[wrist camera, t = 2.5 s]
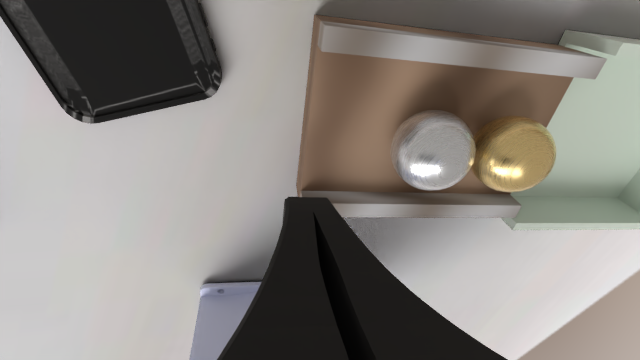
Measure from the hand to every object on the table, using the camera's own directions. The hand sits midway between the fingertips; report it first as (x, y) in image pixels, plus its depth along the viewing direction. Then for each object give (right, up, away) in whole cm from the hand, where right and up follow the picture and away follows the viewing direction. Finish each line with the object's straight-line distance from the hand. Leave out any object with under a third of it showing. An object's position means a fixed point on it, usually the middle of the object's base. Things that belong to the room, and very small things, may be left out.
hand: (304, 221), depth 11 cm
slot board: (+6, +5, +9) cm, 12 cm away
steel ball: (+6, +3, +6) cm, 9 cm away
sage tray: (+19, +5, +12) cm, 23 cm away
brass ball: (+11, +3, +7) cm, 13 cm away
